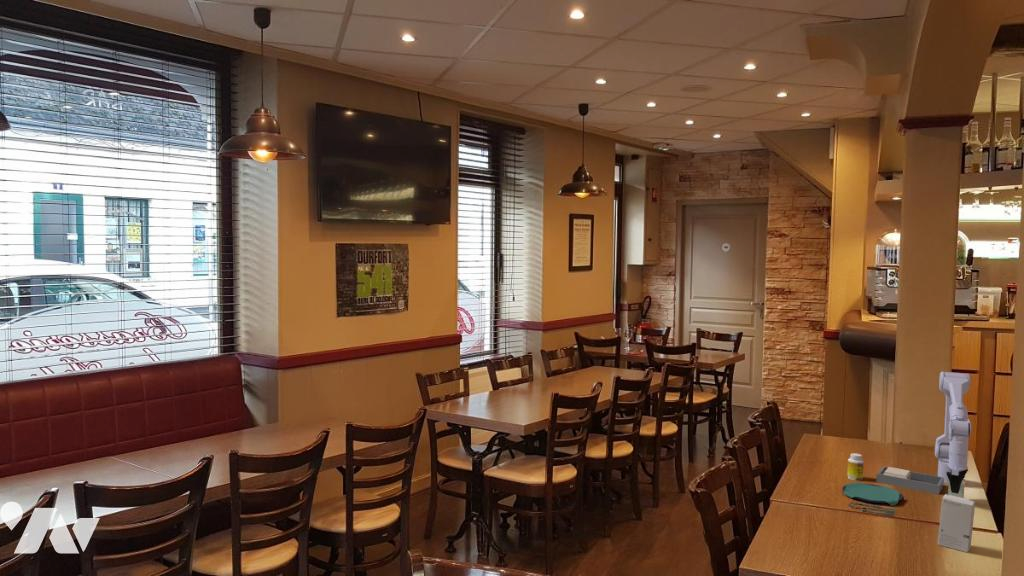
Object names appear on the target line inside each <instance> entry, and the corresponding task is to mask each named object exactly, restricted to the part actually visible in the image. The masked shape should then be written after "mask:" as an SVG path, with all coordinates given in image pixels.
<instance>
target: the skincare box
mask: <svg viewBox="0 0 1024 576" xmlns="http://www.w3.org/2000/svg"><path fill="white" fill-rule="evenodd" d="M975 508H976V500H972V499H969V498H965V497H964V498H961V497H956V496H952V495H948V493H946V494H944V495H943V496H942V500H941V509H940V519H939V529H938V536H937V537H938V538H937V545H938V546H940V547H944V548H948V549H953V550H957V551H961V552H965V553H968V552H969V551H970V549H971V547H972V537H973V530H974V529H973V527H974V519H975Z"/></svg>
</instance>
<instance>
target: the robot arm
mask: <svg viewBox="0 0 1024 576" xmlns="http://www.w3.org/2000/svg"><path fill="white" fill-rule="evenodd" d="M971 381H972V380H971V375H970V374H969V373H960V372H950V371H941V372H940V373H939V383H938V384H939V385H938V389H939V391H940V392H941V393H943V394H944V397H945V409H944V412H945V413H944V428H943V429H944V433H943V434H942V435H940V436H938V437H936V439H935V444H934V456H935V457H936V458H937V459H938V465H937V476H938V477H944V484H949V482H950V487H951V492H952V493H957V494H958V493H959V490H960V486H961V483H962V480H963V479H965V477H966V474H967V473H968V472H969V468H968V456H969V440H970V439H969V438H970V437H971V434H972V423H971V421H970V419H969V414H968V407H967V406H966V405H965V404H964V394H967V393H968V391H969V389H970V388H971Z"/></svg>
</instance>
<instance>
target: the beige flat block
mask: <svg viewBox="0 0 1024 576" xmlns="http://www.w3.org/2000/svg"><path fill="white" fill-rule="evenodd" d="M887 467H888V468H887V470H886V471H885V473H884V474H883V475H888V476H893V477H898V478H904V479H909V480H910V479H911V473H910V471H911V470H908V469H902V468H897V467H891V466H887Z"/></svg>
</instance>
